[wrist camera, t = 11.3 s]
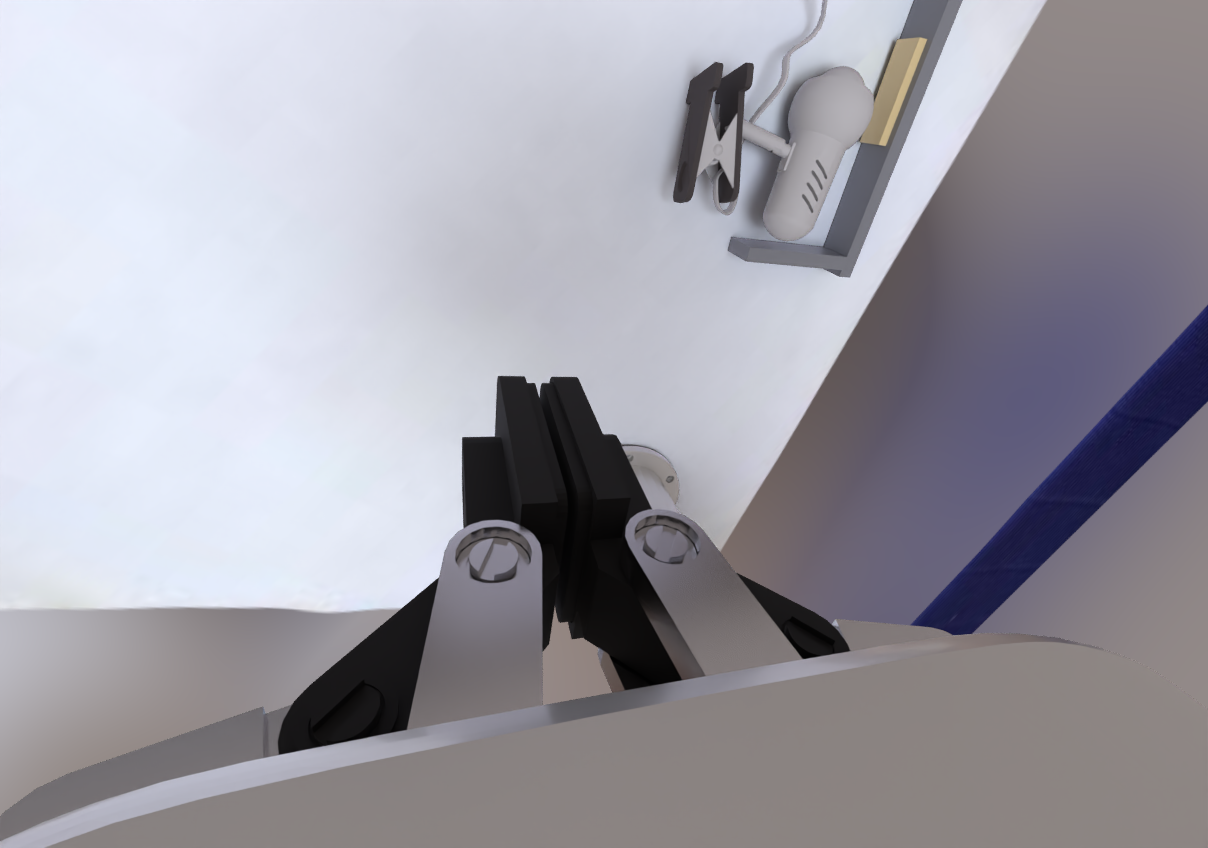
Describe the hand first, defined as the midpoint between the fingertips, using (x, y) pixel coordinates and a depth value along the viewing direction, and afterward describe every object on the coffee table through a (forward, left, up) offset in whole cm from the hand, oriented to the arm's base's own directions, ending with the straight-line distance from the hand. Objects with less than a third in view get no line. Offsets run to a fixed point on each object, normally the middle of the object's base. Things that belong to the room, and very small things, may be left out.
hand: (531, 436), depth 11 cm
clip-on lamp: (+10, -19, -28) cm, 35 cm away
